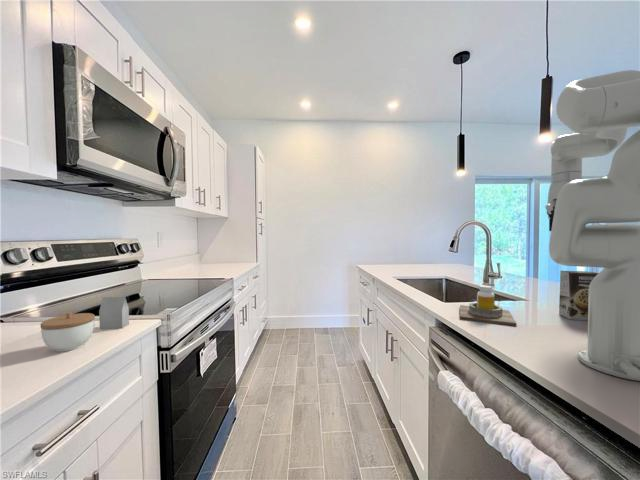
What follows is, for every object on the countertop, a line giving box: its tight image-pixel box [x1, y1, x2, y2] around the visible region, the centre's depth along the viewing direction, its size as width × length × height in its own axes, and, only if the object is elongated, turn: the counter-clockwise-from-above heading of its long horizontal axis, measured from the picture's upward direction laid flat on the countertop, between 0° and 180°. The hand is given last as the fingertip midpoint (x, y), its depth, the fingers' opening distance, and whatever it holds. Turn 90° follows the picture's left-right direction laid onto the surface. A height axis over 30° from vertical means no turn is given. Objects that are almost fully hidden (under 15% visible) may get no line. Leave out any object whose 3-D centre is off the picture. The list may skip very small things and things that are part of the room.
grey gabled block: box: [98, 296, 130, 330], centre depth 89 cm, size 4×7×10 cm, turn 97°
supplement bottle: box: [476, 284, 496, 309], centre depth 97 cm, size 5×5×10 cm
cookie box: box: [558, 270, 600, 321], centre depth 94 cm, size 9×6×16 cm
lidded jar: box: [40, 311, 96, 353], centre depth 73 cm, size 11×11×9 cm
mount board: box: [459, 302, 517, 327], centre depth 97 cm, size 16×16×4 cm
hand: (565, 231), depth 90 cm, fingers open, 9 cm apart
